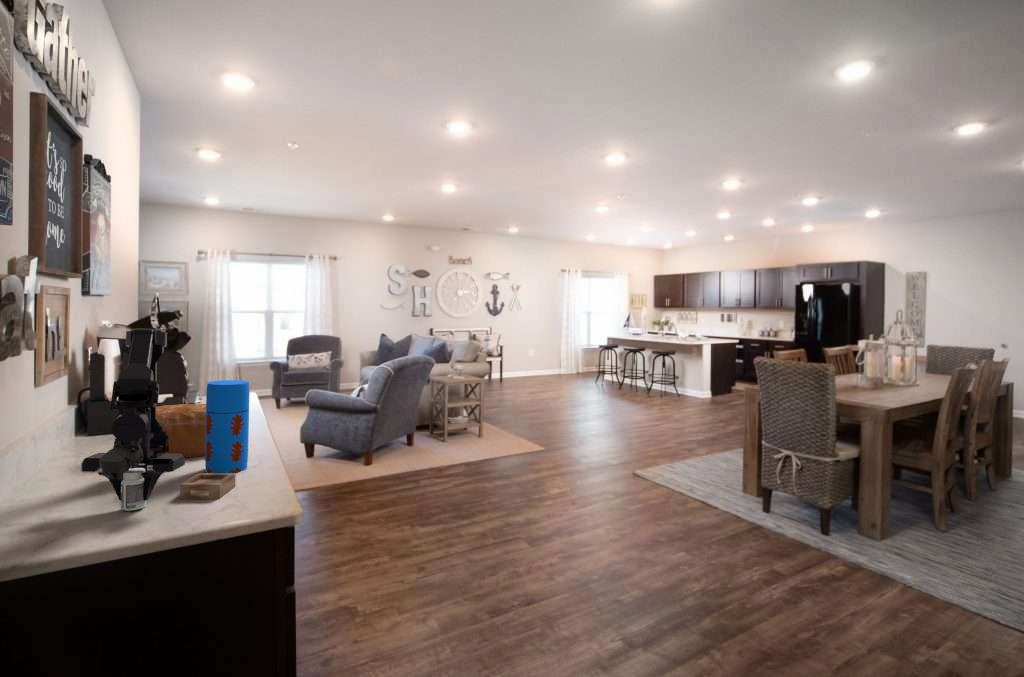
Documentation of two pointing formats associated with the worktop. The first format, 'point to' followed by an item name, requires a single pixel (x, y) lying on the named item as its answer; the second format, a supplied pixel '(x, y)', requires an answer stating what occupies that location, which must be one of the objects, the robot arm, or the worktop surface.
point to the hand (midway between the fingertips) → (133, 500)
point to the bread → (184, 428)
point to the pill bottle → (132, 490)
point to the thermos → (227, 426)
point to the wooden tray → (207, 486)
